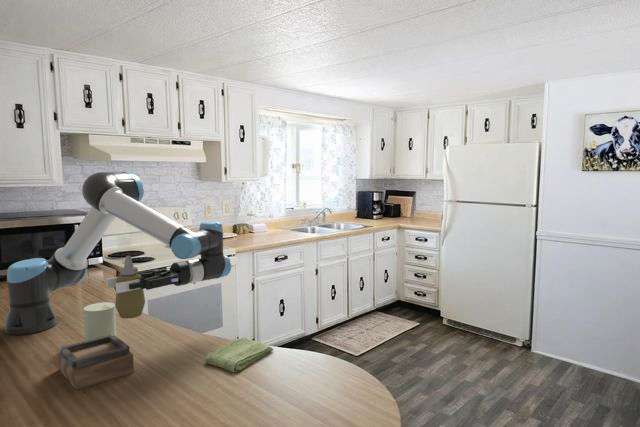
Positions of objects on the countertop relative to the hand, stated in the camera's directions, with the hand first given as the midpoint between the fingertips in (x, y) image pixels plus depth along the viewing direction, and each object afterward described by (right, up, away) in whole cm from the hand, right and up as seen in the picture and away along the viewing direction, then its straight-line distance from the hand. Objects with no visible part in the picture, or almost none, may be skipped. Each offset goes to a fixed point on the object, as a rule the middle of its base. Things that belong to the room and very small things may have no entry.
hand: (111, 285), depth 121 cm
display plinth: (-2, -22, -5) cm, 23 cm away
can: (-11, -21, +15) cm, 28 cm away
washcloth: (+36, -22, +4) cm, 42 cm away
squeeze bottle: (+4, -10, +5) cm, 11 cm away
